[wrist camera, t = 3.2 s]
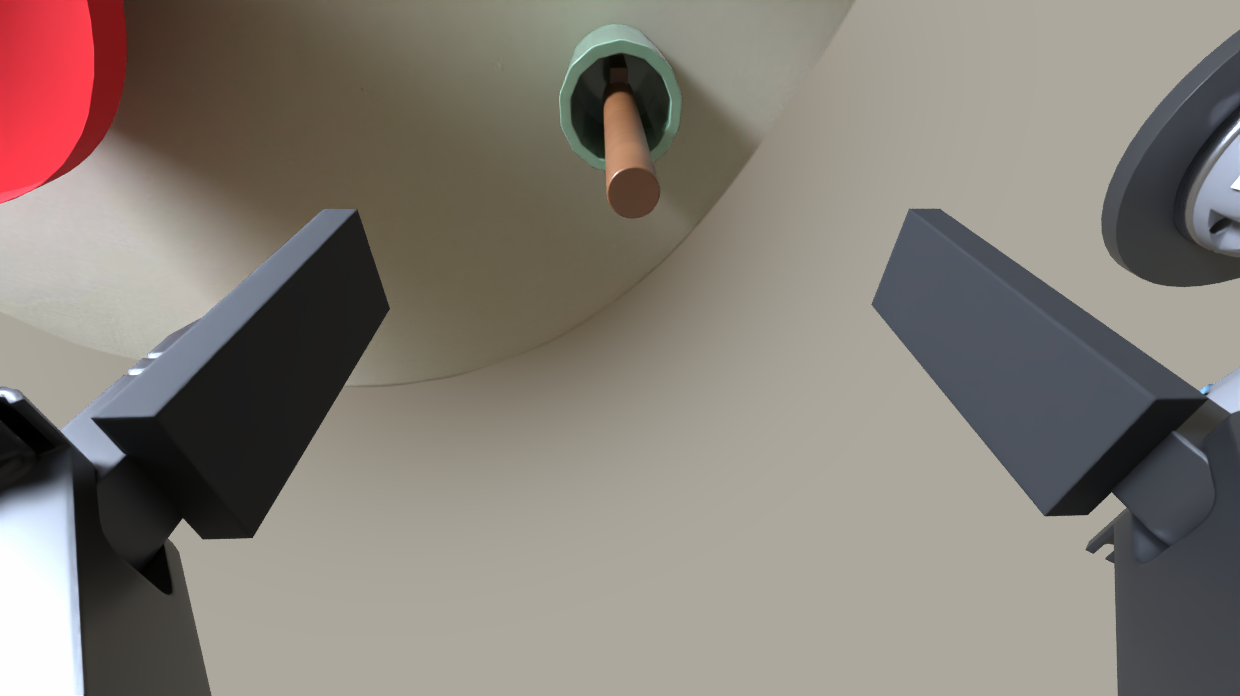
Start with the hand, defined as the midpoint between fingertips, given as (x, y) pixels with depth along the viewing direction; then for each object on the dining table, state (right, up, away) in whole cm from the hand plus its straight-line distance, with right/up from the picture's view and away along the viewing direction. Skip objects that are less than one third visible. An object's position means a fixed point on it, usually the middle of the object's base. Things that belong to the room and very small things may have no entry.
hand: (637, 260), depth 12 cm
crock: (-1, +16, +21) cm, 26 cm away
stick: (-1, +15, +20) cm, 25 cm away
